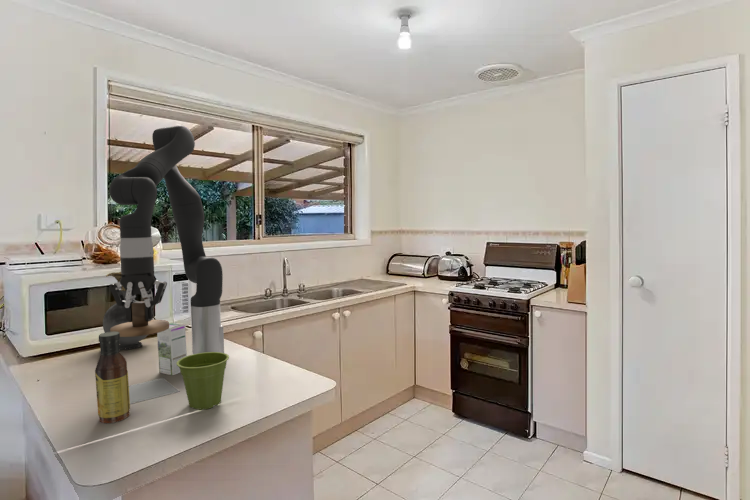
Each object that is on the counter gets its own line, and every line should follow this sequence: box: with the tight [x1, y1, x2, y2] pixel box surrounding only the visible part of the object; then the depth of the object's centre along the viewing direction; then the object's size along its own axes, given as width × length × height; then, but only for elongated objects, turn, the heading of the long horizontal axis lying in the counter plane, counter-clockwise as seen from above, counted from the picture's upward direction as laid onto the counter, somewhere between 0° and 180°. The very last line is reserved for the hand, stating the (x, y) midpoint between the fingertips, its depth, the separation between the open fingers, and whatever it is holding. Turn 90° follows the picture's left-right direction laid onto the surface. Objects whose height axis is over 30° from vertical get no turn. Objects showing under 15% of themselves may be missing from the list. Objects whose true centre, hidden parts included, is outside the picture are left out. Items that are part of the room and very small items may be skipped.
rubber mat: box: [129, 377, 180, 405], centre depth 114 cm, size 14×14×1 cm
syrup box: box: [156, 322, 188, 376], centre depth 129 cm, size 6×6×14 cm
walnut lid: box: [110, 300, 170, 337], centre depth 113 cm, size 14×14×7 cm
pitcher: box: [102, 271, 157, 351], centre depth 157 cm, size 11×19×30 cm, turn 132°
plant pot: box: [176, 352, 230, 411], centre depth 105 cm, size 12×12×11 cm
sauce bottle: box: [94, 331, 131, 424], centre depth 98 cm, size 6×6×20 cm
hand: (140, 320), depth 113 cm, fingers closed on walnut lid, 3 cm apart
